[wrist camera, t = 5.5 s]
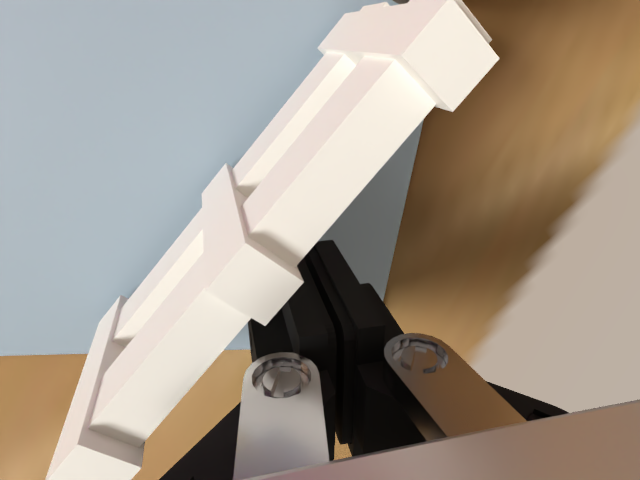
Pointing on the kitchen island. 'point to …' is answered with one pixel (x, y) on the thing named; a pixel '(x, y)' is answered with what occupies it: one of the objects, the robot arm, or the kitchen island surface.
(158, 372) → the swing panel
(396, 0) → the fixed panel and post
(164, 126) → the mat
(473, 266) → the kitchen island surface
